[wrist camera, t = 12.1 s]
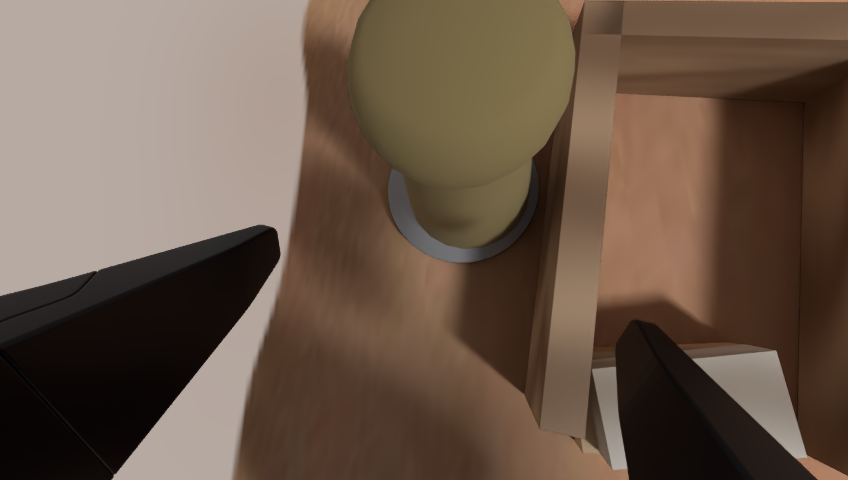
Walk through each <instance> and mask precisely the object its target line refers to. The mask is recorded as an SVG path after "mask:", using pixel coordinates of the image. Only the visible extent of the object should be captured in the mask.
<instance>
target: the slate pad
mask: <svg viewBox="0 0 848 480" xmlns="http://www.w3.org/2000/svg"><path fill="white" fill-rule="evenodd" d="M538 193H539V181H538V174H537V169H536V166H535V163H534V160H533V158H532V166H531V184H530V194H529V199H528V205H527V209H526V211H525V213H524V215H523V217H522V218H521V220H520V222H519V224H518V225H517V227H515V228H514V229H513V230H512V231H511V232H510V233H509V234H508V235H507V236H505V237H504V238H503V239H502V240H499V241H497V242H495V243H493V244H490V245H488V246H486V247H481V248H472V249H461V248H456V247H452V246H447V245H445V244H443V243H441V242H439V241H438V240H436V239H434V238H432V237H431V236H430V235H429V234H428V233H427V232H426V231H425V230H424V229H423V228H422V227H421V226H420V224H419V223H418V222H417V219H416V217H415V215H414V212H413V210H412V208H411V205H410V201H409V197H408V193H407V189H406V185H405V181H404V177H403V174H402V173H400V172H398V171H396V170H394V169H393V168H392V170H391V173H390V177H389V183H388V200H389V206H390V210H391V214H392V216H393V219H394V221H395V223H396V225H397V227H398V229H399V230H400V232H401V233H402V234H403V235H404V237H405V238H406V239H407V240H408V241H409V242H410V243H411V244H412V245H413V246H415V247H416V248H417V249H419V250H420V251H422V252H423V253H425V254H427V255H429V256H431V257H433V258H436V259H439V260H442V261H446V262H453V263H470V262H477V261H481V260H484V259H488V258H490V257H492V256H495V255H497V254H499V253H500V252H502V251H504V250H505V249H507V248H508V247H509V246H510V245H512V244H513V243H514V242H515V241H516V240H517V239H518V238H519V237H520V236H521V234H522V233H523V232H524V230H525V229H526V228H527V226H528V224H529V222H530V221H531V219H532V217H533V214H534V211H535V209H536V205H537V201H538Z"/></svg>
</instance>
